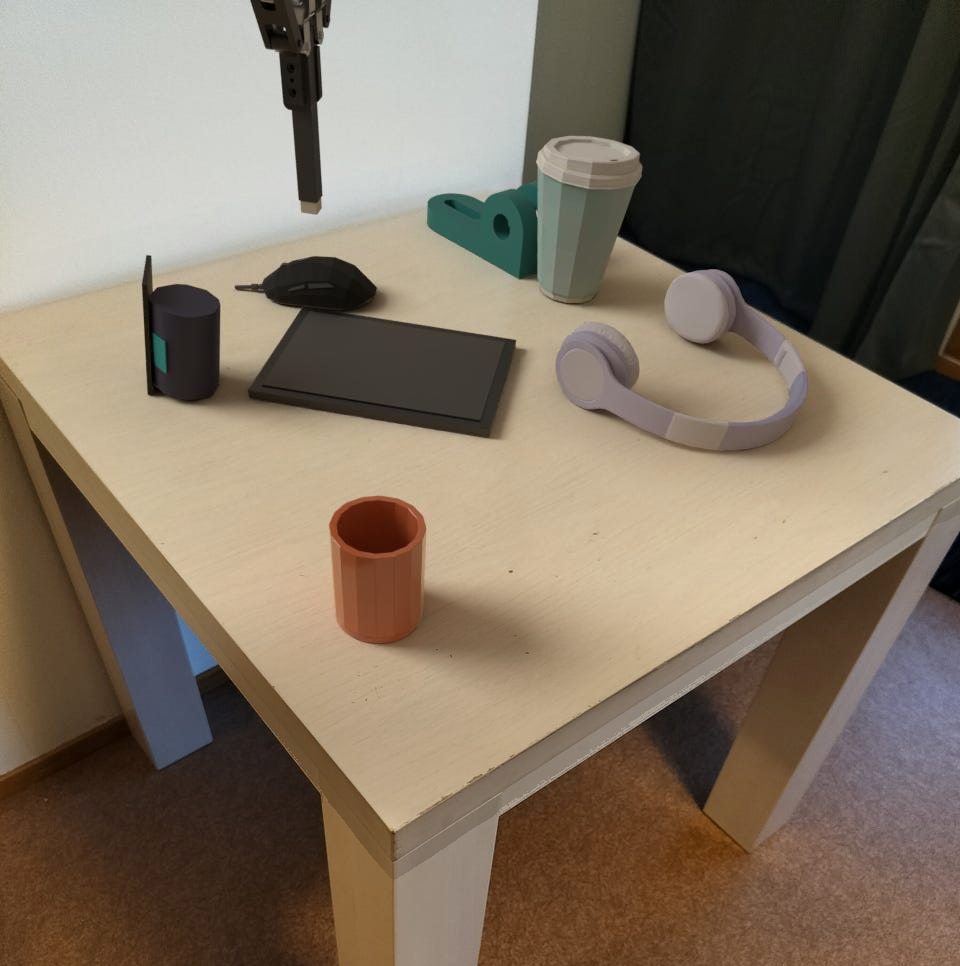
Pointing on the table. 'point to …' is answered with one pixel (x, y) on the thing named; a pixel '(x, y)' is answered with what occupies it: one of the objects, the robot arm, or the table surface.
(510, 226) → the bracket
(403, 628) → the pen cup
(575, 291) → the disposable coffee cup
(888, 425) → the table surface
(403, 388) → the tablet
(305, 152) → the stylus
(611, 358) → the headphones
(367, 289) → the gaming mouse
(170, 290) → the speaker
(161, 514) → the table surface
